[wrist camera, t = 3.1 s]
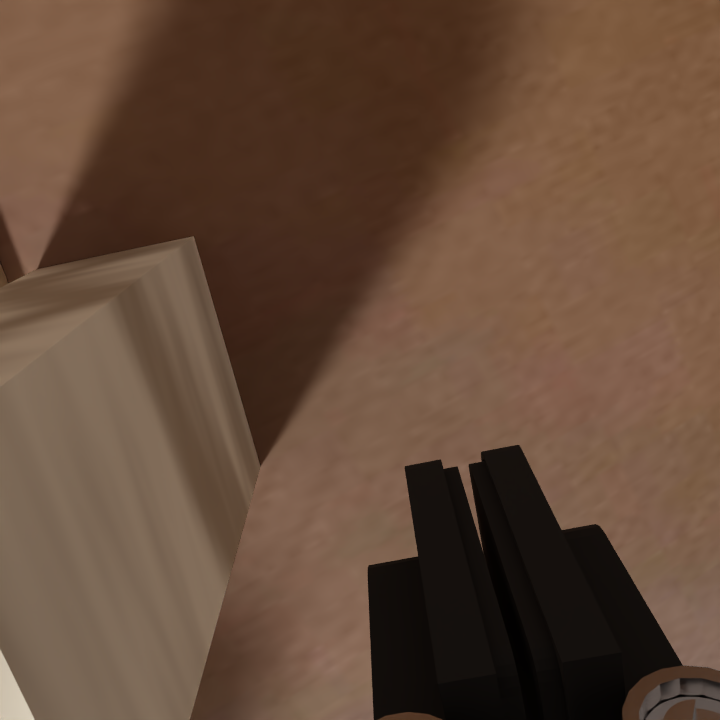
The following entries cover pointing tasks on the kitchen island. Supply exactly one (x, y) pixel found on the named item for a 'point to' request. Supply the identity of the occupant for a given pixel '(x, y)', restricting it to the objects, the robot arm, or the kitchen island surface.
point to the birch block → (115, 485)
